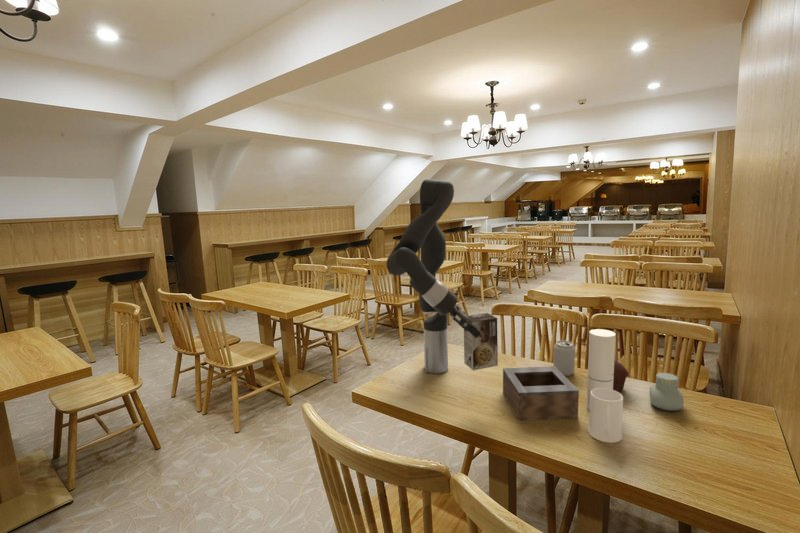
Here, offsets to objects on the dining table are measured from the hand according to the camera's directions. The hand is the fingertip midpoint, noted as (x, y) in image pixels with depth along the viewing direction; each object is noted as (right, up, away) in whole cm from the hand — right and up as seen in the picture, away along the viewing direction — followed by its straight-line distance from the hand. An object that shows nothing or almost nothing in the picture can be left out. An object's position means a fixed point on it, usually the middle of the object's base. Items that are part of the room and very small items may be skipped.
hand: (476, 331), depth 127 cm
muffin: (+49, -22, +12) cm, 55 cm away
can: (+39, -20, +26) cm, 51 cm away
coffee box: (+2, -11, +2) cm, 12 cm away
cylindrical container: (+39, -25, -1) cm, 46 cm away
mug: (+33, -27, -16) cm, 45 cm away
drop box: (+21, -24, +3) cm, 32 cm away
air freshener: (+60, -24, -1) cm, 64 cm away
